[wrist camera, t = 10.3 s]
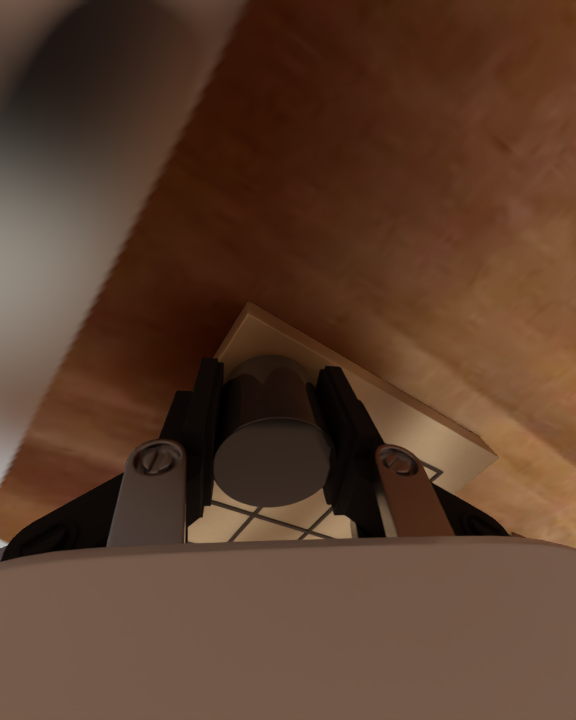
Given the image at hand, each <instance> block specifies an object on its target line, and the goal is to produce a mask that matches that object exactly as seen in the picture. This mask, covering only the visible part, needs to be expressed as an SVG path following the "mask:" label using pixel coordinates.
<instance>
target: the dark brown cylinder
mask: <svg viewBox="0 0 576 720" xmlns="http://www.w3.org/2000/svg"><path fill="white" fill-rule="evenodd" d="M336 460H337V452H336V448H335V445H334V442H333V439H332V436H331V433H330V430H329V427H328V424H327V421H326V419H325V416H324V413H323V410H322V407H321V404H320V401H319V398H318V395H317V392H316V389H315V386H314V384H313V381H312V378H311V376H310V374H309V373H308V372H307V370H306V369H305V368H304V367H303V366H302V365H300V364H299V363H298V362H296V361H294V360H292V359H290V358H287V357H284V356H280V355H260V356H256V357H253V358H250V359H247V360H245V361H243V362H242V363H240V364H239V365H237V366H236V367H235V368H234V369H233V370H232V371H231V372H230V373H229V375H228V376H227V378H226V379H225V382H224V384H223V390H222V397H221V404H220V411H219V418H218V426H217V433H216V440H215V447H214V454H213V477H214V480H215V482H216V484H217V485H218V487H219V488H220V489H221V490H222V491H223V492H224V493H225V494H226V495H227V496H229V497H230V498H232V499H234V500H235V501H238V502H240V503H243V504H246V505H249V506H254V507H263V508H273V507H282V506H287V505H291V504H295V503H298V502H300V501H303V500H305V499H307V498H309V497H311V496H312V495H314V494H315V493H317V492H318V491H319V490H320V489H322V488H323V487H324V486H325V485H326V484H327V482H328V481H329V480H330V478H331V476H332V474H333V471H334V468H335V464H336Z"/></svg>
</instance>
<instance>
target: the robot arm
mask: <svg viewBox="0 0 576 720" xmlns="http://www.w3.org/2000/svg"><path fill="white" fill-rule="evenodd" d="M223 373H224V363H223V362H218V358H205V357H203V359H202V362H201V366H200V369H199V373H198V376H197V380H196V383H195V387H194V390H193V392H192V391H177V392H176V394H175V397H174V399H173V402H172V405H171V407H170V410H169V413H168V415H167V418H166V421H165V423H164V426H163V429H162V431H161V434H160V437H159V439H155V440H150V441H148V442H145V443H143V444H141V445H140V446H138V447H136V448H135V449H134V450H133V451H132V452H131V453H130V455H129V457H128V459H127V462H126V467H125V471H124V473H122V474H120V475H118V476H116V477H114V478H113V479H111V480H109V481H107V482H105V483H104V484H102V485H100V486H98V487H96V488H94V489H93V490H91V491H89V492H87V493H85V494H84V495H82V496H80V497H78V498H76V499H74V500H73V501H71V502H69V503H67V504H65V505H64V506H62V507H60V508H58V509H56V510H55V511H53V512H51V513H49V514H47V515H45V516H44V517H42V518H40V519H38V520H36V521H35V522H33V523H31V524H30V525H28V526H27V527H25V528H24V529H22V530H21V531H20V532H19V533H18V534H17V535H16V536H15V537H14V538H13V539H12V540H11V541H10V543H9V544H8V546H5V547H3V548H0V720H576V549H575V548H572V547H569V546H566V545H562V544H557V543H553V542H548V541H544V540H538V539H530V538H526V537H523V536H521V535H519V534H516V533H514V532H512V531H511V533H510V534H508V533H507V532H506V530H505V529H504V528H503V527H502V526H501V525H500V524H499V523H498V522H497V521H496V520H495V519H493V518H492V517H490V516H489V515H487V514H486V513H484V512H482V511H481V510H479V509H477V508H475V507H474V506H472V505H470V504H469V503H467V502H465V501H463V500H462V499H460V498H458V497H456V496H455V495H453V494H451V493H450V492H448V491H446V490H444V489H443V488H441V487H439V486H437V485H436V484H434V483H432V482H431V481H430V480H429V478H428V475H427V473H426V471H425V469H424V467H423V465H422V463H421V461H420V460H419V459H418V458H417V457H416V456H415V455H414V454H413V453H412V452H410V451H409V450H407V449H405V448H403V447H401V446H398V445H393V444H385V443H384V441H383V439H382V437H381V435H380V433H379V432H378V430H377V428H376V426H375V424H374V423H373V421H372V419H371V417H370V415H369V413H368V412H367V410H366V408H365V406H364V404H363V403H362V401H361V400H358V398H357V397H356V395H355V393H354V391H353V389H352V387H351V385H350V383H349V382H348V380H347V378H346V376H345V374H344V372H343V370H342V368H341V367H338V366H325V368H324V369H320V371H319V375H318V380H317V385H316V392H317V395H318V398H319V401H320V404H321V407H322V410H323V413H324V416H325V419H326V421H327V424H328V427H329V430H330V433H331V436H332V439H333V442H334V445H335V448H336V452H337V460H336V464H335V468H334V471H333V474H332V476H331V478H330V480H329V481H328V482H327V484H326V485H325V486H324V487H323V488H322V489H323V493H324V497H325V501H326V503H327V505H331V506H332V510H333V513H334V515H345V516H346V517H348V518H349V519H350V528H351V535H352V538H344V539H309V540H276V541H245V542H216V543H188V527H189V526H190V525H191V524H193V523H194V522H195V521H196V520H198V519H199V518H203V512H204V506H211V503H212V495H213V487H214V477H213V454H214V447H215V440H216V433H217V426H218V418H219V411H220V404H221V397H222V390H223Z"/></svg>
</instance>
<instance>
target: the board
mask: <svg viewBox="0 0 576 720" xmlns="http://www.w3.org/2000/svg"><path fill="white" fill-rule="evenodd" d="M260 355H280V356H284V357H287V358H290V359H292V360H294V361H296V362H298V363H299V364H300V365H302V366H303V367H304V368H305V369H306V370H307V372H308V373H309V374H310V376H311V378H312V381H313V384H314V386H315V389H316V385H317V380H318V375H319V371H320V369H324V368H325V366H338V367H341V368H342V370H343V372H344V374H345V376H346V378H347V380H348V382H349V383H350V385H351V387H352V389H353V391H354V393H355V395H356V397H357V398H358V400H361V401H362V403H363V404H364V406H365V408H366V410H367V412H368V413H369V415H370V417H371V419H372V421H373V423H374V424H375V426H376V428H377V430H378V432H379V433H380V435H381V437H382V439H383V441H384V443H385V444H393V445H398V446H401V447H403V448H405V449H407V450H409V451H410V452H412V453H413V454H414V455H415V456H416V457H417V458H418V459H419V460H420V461H421V463H422V465H423V467H424V469H425V471H426V473H427V475H428V478H429V480H430V481H431V482H432V483H434V484H436V485H437V486H439V487H441V488H443V489H444V490H446V491H448V492H450V493H451V494H453V495H454V494H456V493H457V492H458V491H459V490H460V489H462V488H463V487H464V486H465V485H467V484H468V483H469V482H470V481H472V480H473V479H474V478H475V477H476V476H478V475H479V474H480V473H481V472H483V471H484V470H485V469H486V468H488V467H489V466H490V465H491V464H492V463H494V462H495V461H496V460H497V459H499V456H498V455H497V454H496V453H495V452H494V451H493V450H492V449H491V448H490V447H489V446H488V445H487V444H486V443H485V442H484V441H483V440H482V439H481V438H480V437H478V436H477V435H475V434H473V433H472V432H470V431H468V430H467V429H465V428H463V427H462V426H460V425H458V424H456V423H455V422H453V421H451V420H450V419H448V418H446V417H445V416H443V415H441V414H440V413H438V412H436V411H434V410H433V409H431V408H429V407H428V406H426V405H424V404H423V403H421V402H419V401H418V400H416V399H414V398H412V397H411V396H409V395H407V394H406V393H404V392H402V391H401V390H399V389H397V388H396V387H394V386H392V385H390V384H389V383H387V382H385V381H384V380H382V379H380V378H379V377H377V376H375V375H374V374H372V373H370V372H368V371H367V370H365V369H363V368H362V367H360V366H358V365H357V364H355V363H353V362H351V361H350V360H348V359H346V358H345V357H343V356H341V355H340V354H338V353H336V352H335V351H333V350H331V349H329V348H328V347H326V346H324V345H323V344H321V343H319V342H318V341H316V340H314V339H313V338H311V337H309V336H307V335H306V334H304V333H302V332H301V331H299V330H297V329H296V328H294V327H292V326H291V325H289V324H287V323H285V322H284V321H282V320H280V319H279V318H277V317H275V316H274V315H272V314H270V313H269V312H267V311H265V310H263V309H262V308H260V307H258V306H257V305H255V304H253V303H252V302H250V301H247V303H246V305H245V306H244V308H243V309H242V311H241V313H240V314H239V316H238V318H237V319H236V321H235V322H234V324H233V326H232V327H231V329H230V331H229V332H228V334H227V335H226V337H225V339H224V340H223V342H222V344H221V345H220V347H219V348H218V350H217V352H216V353H215V355H214V356H213V358H218V362H223V363H224V373H223V384H224V382H225V379H226V378H227V376H228V375H229V373H230V372H231V371H232V370H233V369H234V368H235V367H236V366H237V365H239V364H240V363H242V362H243V361H245V360H247V359H250V358H253V357H256V356H260ZM193 390H194V389H193ZM192 392H193V391H192ZM344 538H352V535H351V528H350V519H349V518H348V517H346V516H345V515H334V513H333V510H332V506H331V505H327V503H326V501H325V497H324V493H323V489H320V490H319V491H318V492H317V493H315V494H314V495H312V496H311V497H309V498H307V499H305V500H303V501H300V502H298V503H295V504H291V505H287V506H282V507H273V508H263V507H254V506H249V505H246V504H243V503H240V502H238V501H235V500H234V499H232V498H230V497H229V496H227V495H226V494H225V493H224V492H223V491H222V490H221V489H220V488H219V487H218V485H217V484H216V482H215V480H214V487H213V495H212V503H211V506H204V512H203V518H199V519H198V520H196V521H195V522H194V523H193V524H191V525H190V526H189V527H188V543H216V542H245V541H276V540H309V539H344Z"/></svg>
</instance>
